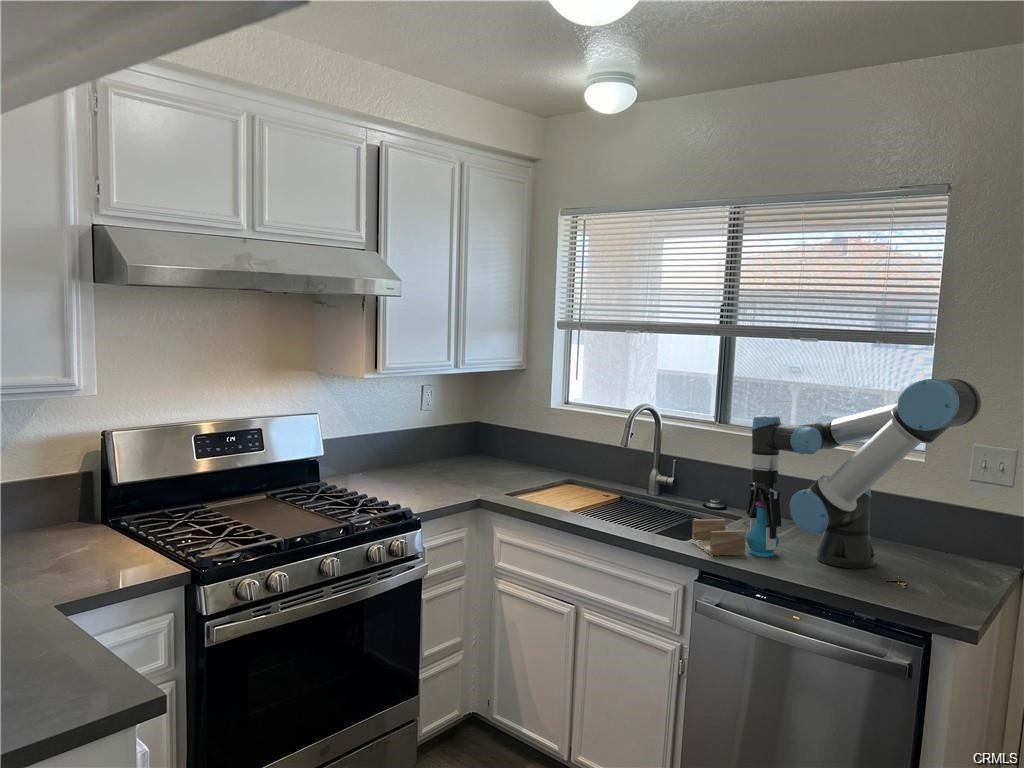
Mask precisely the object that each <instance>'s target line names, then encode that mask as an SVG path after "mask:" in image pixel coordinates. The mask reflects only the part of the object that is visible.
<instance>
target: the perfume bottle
mask: <svg viewBox="0 0 1024 768" xmlns="http://www.w3.org/2000/svg"><path fill="white" fill-rule="evenodd" d="M755 505H757V506H756V508H757V523H756V524H755V526H754V527H753V528H752V529H751V530H750V529H749V532H747V533H746V537H745V541H746V543H747V545H748V548H749V549H750V551H749V552H750V553H749V554H751V553H752V554H751V555H753V554H754V555H753V556H756V555H757V557H763V558H764V557H766V558H767V557H768V558H769V557H773V556H775V551H776V550H766V526H767V525H768V522H767V517H766V512H765V507H764V505H763V504H762V501H758V502H757V503H756V504H755ZM779 543H780V538H779V535H778V534H777V533H776V548H777V547H778V545H779Z"/></svg>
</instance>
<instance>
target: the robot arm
mask: <svg viewBox="0 0 1024 768" xmlns="http://www.w3.org/2000/svg"><path fill="white" fill-rule="evenodd" d="M981 407H982V397H981V395H980V392H979V391H978V390H977V388H976V387H975V386H974V385H973V384H971V383H970V382H968V381H967V380H964V379H960V378H943V379H942V378H941V379H937V378H927V379H926V378H925V379H922V380H918V381H916V382H913V383H910V384H909V385H907V386H906V387H905V388H904V389H903V390H902V392H901V393H900V395H899V396H898V398H897V402H895V403H892V404H888V405H884V406H881V407H877V408H874V409H870V410H869V409H868V410H865V411H862V412H858V413H855V414H850V415H846V416H843V417H839V418H835V419H832V420H831V419H830V420H827V421H824V422H819V423H811V424H810V423H809V424H798V425H794V424H786V423H781V418H780V416H779V415H772V414H757V415H755V416H754V417H753V419H752V429H751V444H752V446H751V447H752V448H751V457H750V458H751V459H750V461H751V463H750V464H751V465H750V466H751V467H752V468H751V470H750V481H751V482H749V484H748V485H749V490H748V491H749V492H748V498H747V505H746V510H745V511H746V515H748V517H749V531H750V530H751V529H752V528H753V527H754V526H755V524H756V523H757V508H756V506H757V505H755V504H756V503H757V502H758V501H762V504H763V505H764V507H765V512H766V517H767V522H768V525H767V526H766V550H775V551H776V550H777V547H776V534H777V528H778V527H779V528H781V527H782V516H781V505H780V504H781V503H780V495H781V494H780V491H775V488H774V484H777V483H778V482H779V470H778V468H779V461H780V457H779V456H780V451H783V452H790V453H796V454H800V455H814V454H816V453H817V451H818V452H819V450H832V449H836V448H837V447H840V446H844V445H847V444H848V445H849V444H852V443H856V442H861V441H866V440H867V441H866V442H865V443H864V444H863V445H862V446H861V447H859V448H858V450H857V451H856V452H854V453H853V454H852V455H851V456H850V457H849V458H848V459H847V460H846V461H845V462H843V464H841V465H840V467H838V468H837V469H836V470H835V471H834V472H833V473H832V474H831V475H826V474H825V475H822V476H820V477H818V478H817V480H815V482H813V483H812V484H811V485H810V486H809V487H808V488H806V489H800V490H799V491H797V492H795V493H794V494H793V495H792V497H791V498H790V502H789V509H790V511H789V513H790V517H791V519H792V521H793V523H794V524H795V525H796V526H797V528H799V529H800V530H802V531H803V532H804V533H808V534H822V533H823V534H822V536H821V539H820V541H819V544H818V547H817V549H816V560H818V561H820V562H822V563H824V564H826V565H829V566H834V567H837V568H844V569H857V570H858V569H870V568H873V567H875V566H876V555H875V550H874V548H873V545H872V541H871V538H870V527H871V526H870V524H871V505H872V503H871V502H872V493H871V491H872V488H871V487H872V486H874V485H875V484H876V483H877V482H878V481H879V480H880V479H882V478H883V477H884V476H885V475H886V474H888V473H889V471H891V470H892V469H893V468H894V467H896V465H898V464H899V463H900V462H901V461H903V459H904V458H906V457H907V456H908V455H909V454H911V452H912V451H913V450H915V449H916V448H917V447H918V446H919V445H920V444H932V443H933V442H934V441H936V439H938V438H939V437H940V436H941V435H942V434H943V433H945V432H946V431H947V430H949V429H950V428H953V427H960V426H964V425H967V424H969V423H970V422H972V421H973V420H974V419H975V418H976V417H977V416H978V414H980V410H981V409H982V408H981Z"/></svg>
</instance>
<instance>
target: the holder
mask: <svg viewBox="0 0 1024 768" xmlns="http://www.w3.org/2000/svg"><path fill="white" fill-rule="evenodd" d="M726 523H727V522H726V519H724V518H714V519H712V518H710V519H709V518H708V519H707V518H706V519H692V526H691V527H692V529H691V533H692V534H691V535H692V536H691V540H695V539H696V540H701V541H699V542H698V543H699V545H701V546H702V547H703V548H704V549H705V550H706V551H707V552H708V553H710V554H711V555H733V556H745V553H746V535H747V531H746V530H744V529H739V530H738V529H736V530H733V529H731V530H726V526H727V525H726ZM696 540H695V541H696ZM701 542H702V543H701ZM708 553H707V554H708ZM711 555H710V556H711Z"/></svg>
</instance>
